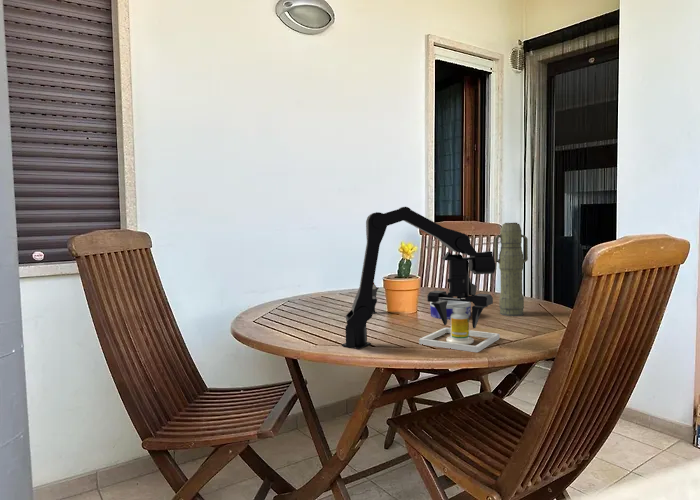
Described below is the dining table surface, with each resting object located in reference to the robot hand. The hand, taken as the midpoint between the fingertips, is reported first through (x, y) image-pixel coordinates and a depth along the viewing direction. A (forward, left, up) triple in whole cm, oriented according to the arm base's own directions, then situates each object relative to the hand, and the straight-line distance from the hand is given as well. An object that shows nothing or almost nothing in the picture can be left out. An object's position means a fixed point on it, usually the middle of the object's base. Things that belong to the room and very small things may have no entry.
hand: (459, 326), depth 142 cm
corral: (0, 0, -4) cm, 4 cm away
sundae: (+25, +49, -5) cm, 55 cm away
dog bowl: (+35, +19, -5) cm, 40 cm away
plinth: (0, 0, -4) cm, 4 cm away
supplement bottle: (0, 0, -4) cm, 4 cm away
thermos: (+49, 0, -5) cm, 49 cm away
